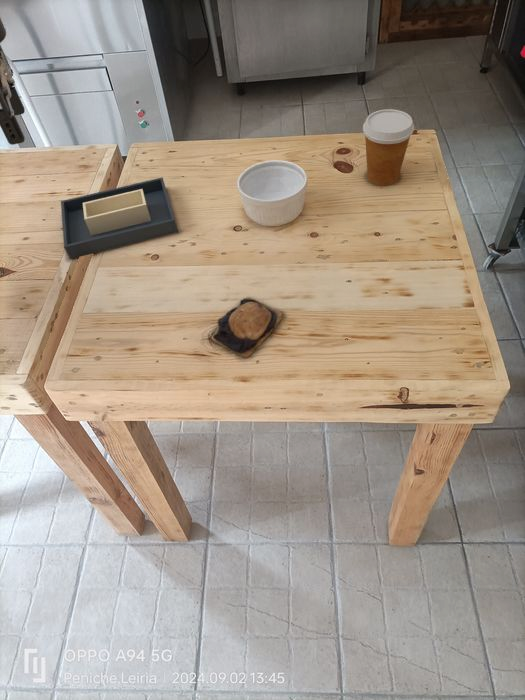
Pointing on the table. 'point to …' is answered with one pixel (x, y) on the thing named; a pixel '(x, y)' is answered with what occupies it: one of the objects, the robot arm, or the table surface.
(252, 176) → the ramekin
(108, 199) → the beige open box
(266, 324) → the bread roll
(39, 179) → the table surface
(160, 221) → the tray
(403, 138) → the disposable coffee cup
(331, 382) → the table surface
